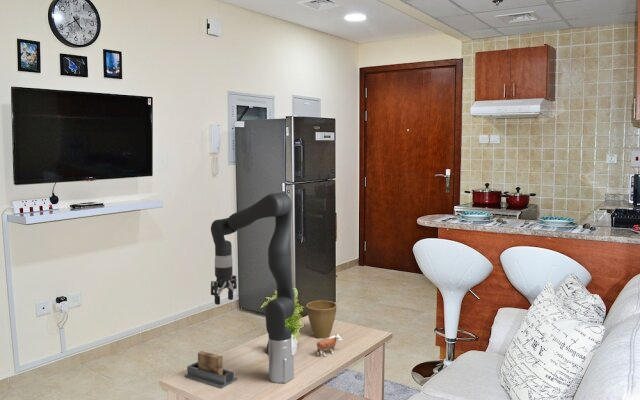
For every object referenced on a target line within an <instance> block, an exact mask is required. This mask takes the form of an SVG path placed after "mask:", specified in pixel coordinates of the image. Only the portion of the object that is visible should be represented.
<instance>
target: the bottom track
mask: <svg viewBox="0 0 640 400" xmlns="http://www.w3.org/2000/svg"><path fill="white" fill-rule="evenodd" d="M186 367H187V371H186V372H187V373H185V374H184V378H186V379H190V380H192V381H196V382H200V383H203V384H205V385H210V386H213V387H217V388H219V389H220V388H221V389H223V388H226V387H227V386H228V385H231V384H232V383H234V382H236V381H237V380H238V377H236V376H235V371H233V370H229V369H225V368H223V375H220V374H217V373H213V372H210V371H206V370H203V369H199V368H198V361H196V362H194V363H192V364H190V365H188V366H186Z"/></svg>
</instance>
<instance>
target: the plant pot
mask: <svg viewBox="0 0 640 400" xmlns="http://www.w3.org/2000/svg"><path fill="white" fill-rule="evenodd" d="M337 307H338V306H337V303H336V302H334V301H331V300H314V301H311V302H308V303H306V311H307V316H308V321H309V324H310V329H311V331H312V333H313V337H315V338H316V337H317V339H320V338H323V339H328V338H329V337H331V336H330V335H331V334H332V333H331V332H332V330H333V326H334V323H335V318H336V312H337ZM327 337H328V338H327Z"/></svg>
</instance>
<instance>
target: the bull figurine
mask: <svg viewBox="0 0 640 400" xmlns="http://www.w3.org/2000/svg"><path fill="white" fill-rule="evenodd" d="M342 341H343V338H342V337H341V336H340V335H339V334H338V333H337V334H335V335H331V336H329V337H328V338H324V339H322V340H319V341H317V343H316V348H317V350H316V353H317V356H318V357H319V356H322V355H323V356H324V357H327V356H328V355H327V354H326V353H325V351H327V350H329V351H330V353H331V354H333V355H334V354H335V353H334V350H335V347H336V346H337V344H338V343H339V342H342Z"/></svg>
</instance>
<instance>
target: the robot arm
mask: <svg viewBox="0 0 640 400" xmlns="http://www.w3.org/2000/svg"><path fill="white" fill-rule="evenodd" d="M292 203H293V202H292V198H291V197H290V195H289V194H287V192H283V191H282V192H275V193H274V192H273V193H269V194H267V195H265V196H264V197H262V198H261V199H260V200H258V201H257V202H255V203H254V204H252V205H251V206H248V207H246V208H243V209H242V210H238V211H236V212H234V213H232V214H231V215H229V216H228V217H226V218H221V219H215V220H214V221H212V223H211V226H210V232H211V237H212V240H213V243H214V276H215V277H216V278H215V279H216V280H211V281H210V295H211V296H214V305H221V296H220V295H221V294H222V292H223V291H224V290H225V289H227V299H228V300H230V301H232V300H234V291H235V290H237V288H238V287H237V275H233V273H234V272H233V268H234V267H233V254H232V252H233V251H232V248H233V247H232V242H231V241H230V240H226V239H225V236H227V235H228V236H229V235H231V234H234V233H236V232H237V231H238V230H242V229H243V228H246V227H248V226H251V225H252V224H253V223H254V222H256V221H258V220H261V219H265V218H275V221H274V223H275V225H274V231H273V234H272V236H271V239H270V242H269V245H268V250H267V257H268V259H267V260H268V268H269V271H270V272H271V274H272V275H271V276H273V279H274V281H275V283H276V284H275V285H276V298H274V299H272V300H269V301H267V303H266V306H265V312H264V313H265V326H266V327H265V328H266V331H267V336H268V340H269V354H268V379H269V380H270V382H273V383H276V384H277V383H278V384H280V383H281V384H282V383H283V384H286V383H288V382H290V381H291V380H293V379H294V378H295V367H294V366H295V364H294V363H295V360H294V359H295V355H293V353H292V330H291V329H290V328H289V327H287V326H286V320H287V319H289V318H291V317H292V316H293V315H294V313H295V310H296V309H295V308H296V303H295V296H294V287H293V274H292V273H293V272H292V247H291V246H292V245H291V244H292V243H291V241H292V240H291V235H292V233H291V225H292V212H293V205H292Z"/></svg>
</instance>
